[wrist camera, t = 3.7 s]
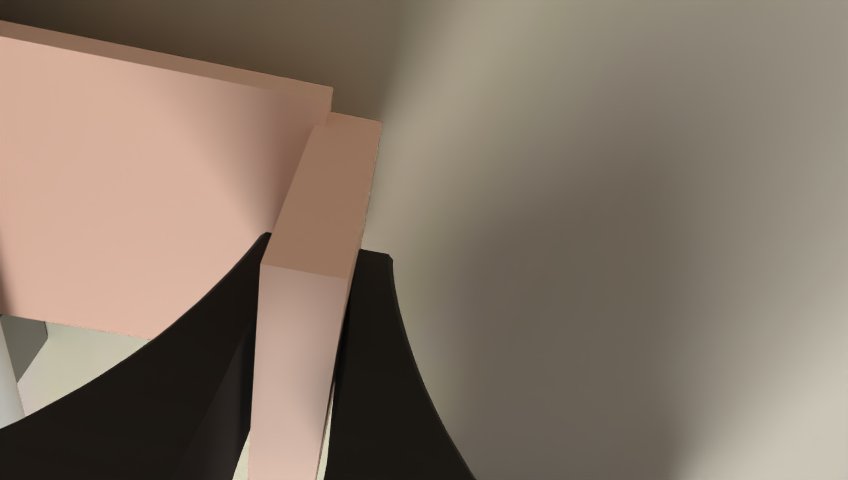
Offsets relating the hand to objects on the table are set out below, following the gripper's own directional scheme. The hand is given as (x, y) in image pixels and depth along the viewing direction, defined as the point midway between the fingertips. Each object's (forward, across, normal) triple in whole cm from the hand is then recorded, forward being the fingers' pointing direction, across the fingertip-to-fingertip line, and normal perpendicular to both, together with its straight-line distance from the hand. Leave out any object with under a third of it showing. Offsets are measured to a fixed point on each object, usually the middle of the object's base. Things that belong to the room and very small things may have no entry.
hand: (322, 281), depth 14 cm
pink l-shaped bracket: (+1, +6, 0) cm, 7 cm away
